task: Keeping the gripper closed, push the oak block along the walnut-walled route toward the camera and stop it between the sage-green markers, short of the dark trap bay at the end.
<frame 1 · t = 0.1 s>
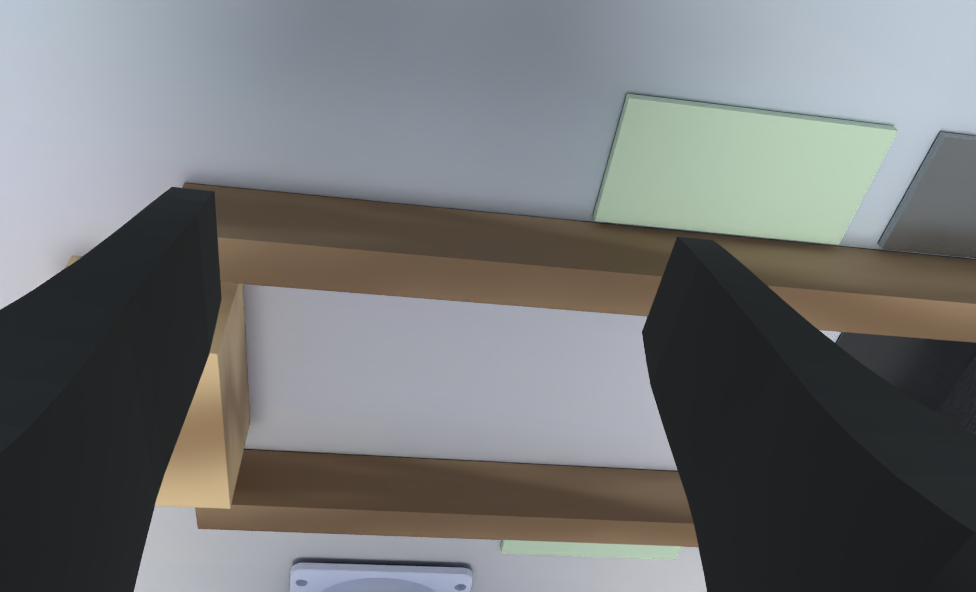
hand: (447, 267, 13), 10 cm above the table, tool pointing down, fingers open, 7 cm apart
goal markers: (655, 380, 29), on the table
oak block: (170, 342, 27), on the table
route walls: (589, 376, 29), on the table
trap bay: (869, 395, 30), on the table
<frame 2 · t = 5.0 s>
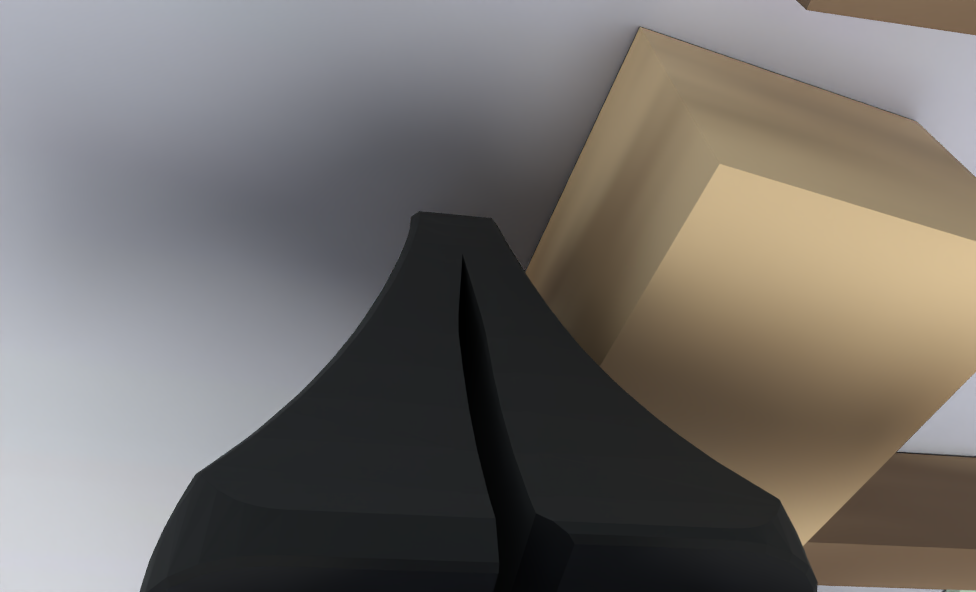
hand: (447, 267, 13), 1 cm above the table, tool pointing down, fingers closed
oak block: (678, 254, 14), on the table, touching gripper
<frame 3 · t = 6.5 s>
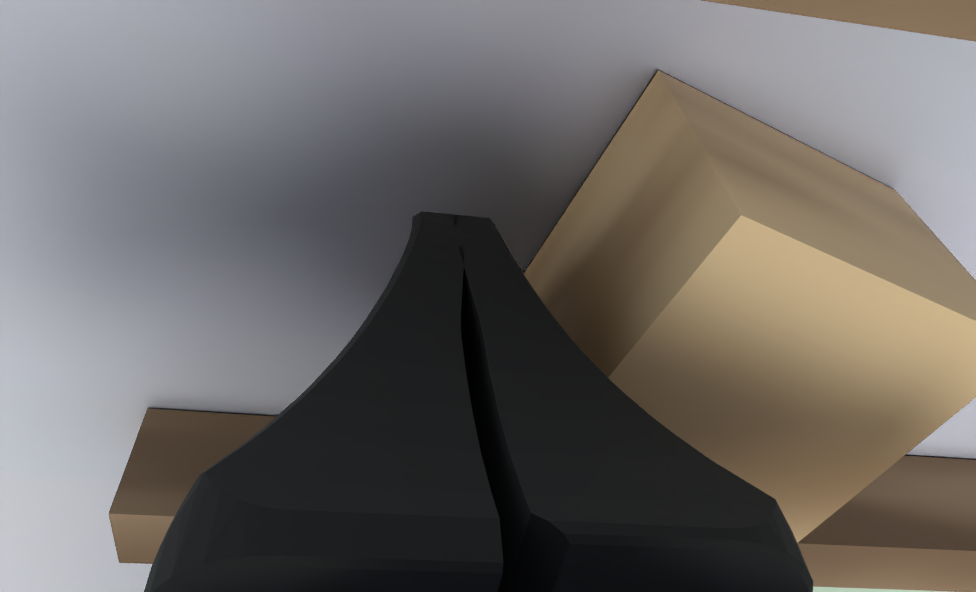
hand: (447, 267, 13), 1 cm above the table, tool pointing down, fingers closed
oak block: (660, 289, 15), on the table, touching gripper
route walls: (880, 270, 15), on the table
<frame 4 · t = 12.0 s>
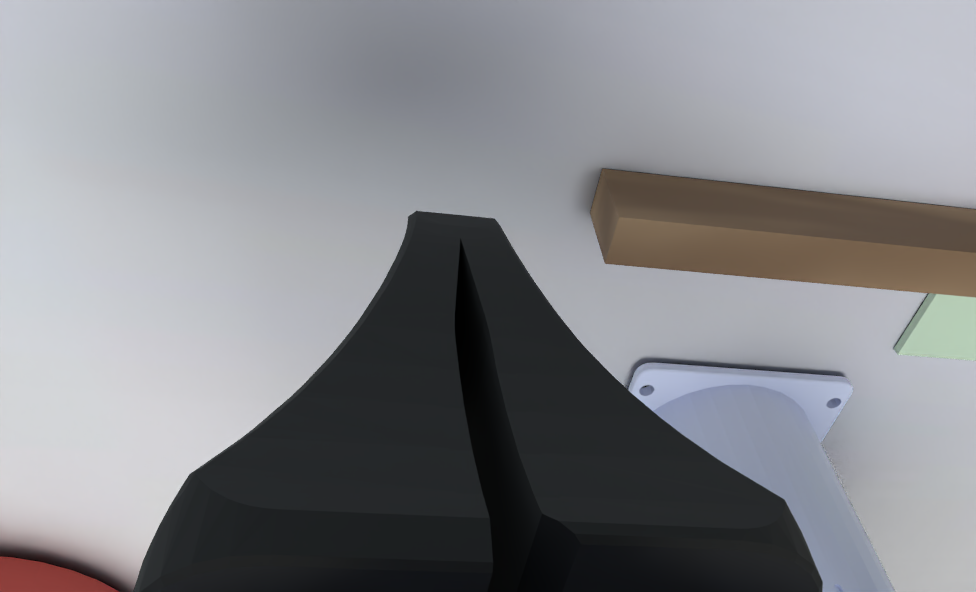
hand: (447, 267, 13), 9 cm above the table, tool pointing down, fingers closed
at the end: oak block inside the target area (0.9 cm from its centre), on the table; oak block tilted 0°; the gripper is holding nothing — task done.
